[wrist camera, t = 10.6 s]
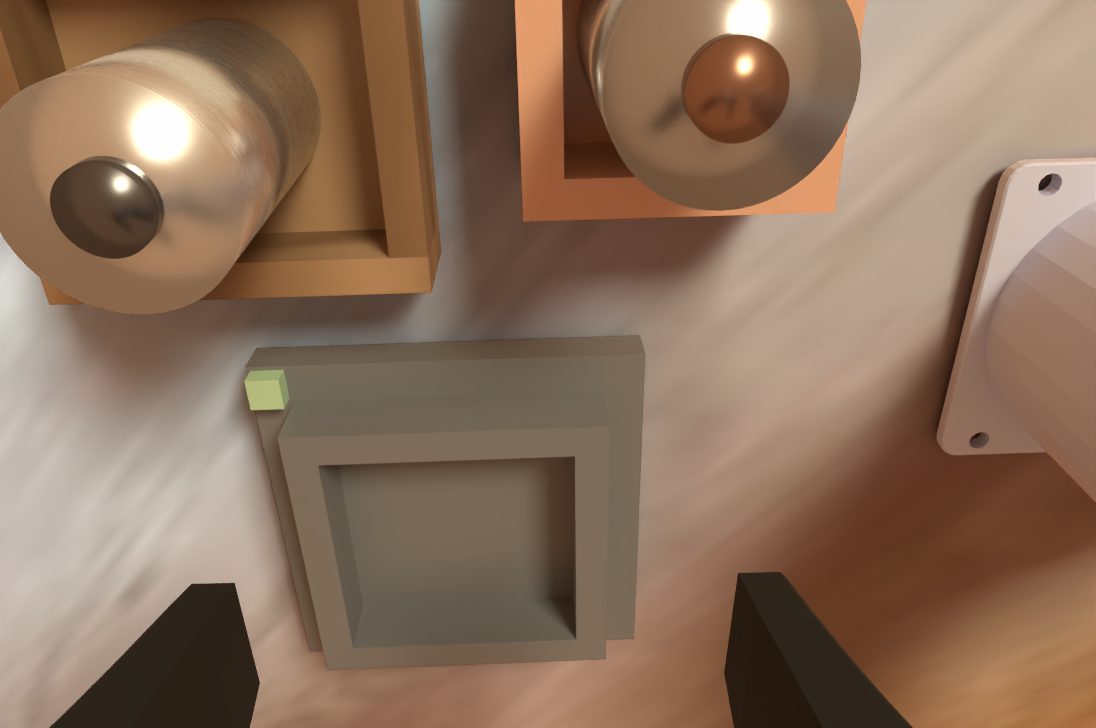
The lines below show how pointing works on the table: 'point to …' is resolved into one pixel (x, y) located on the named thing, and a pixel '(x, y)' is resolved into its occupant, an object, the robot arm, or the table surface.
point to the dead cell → (721, 91)
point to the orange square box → (606, 136)
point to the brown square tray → (344, 143)
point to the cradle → (457, 495)
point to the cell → (154, 163)
